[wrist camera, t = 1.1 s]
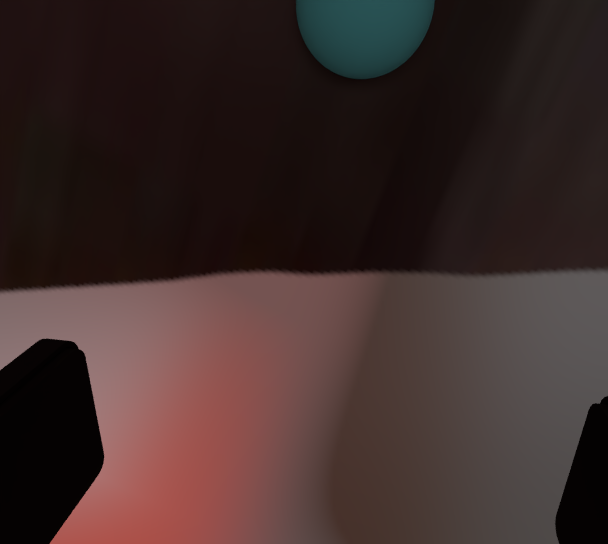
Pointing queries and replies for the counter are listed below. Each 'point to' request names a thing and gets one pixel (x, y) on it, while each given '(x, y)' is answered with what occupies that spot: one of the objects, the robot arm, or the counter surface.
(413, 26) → the ball
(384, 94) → the counter surface
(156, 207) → the counter surface
